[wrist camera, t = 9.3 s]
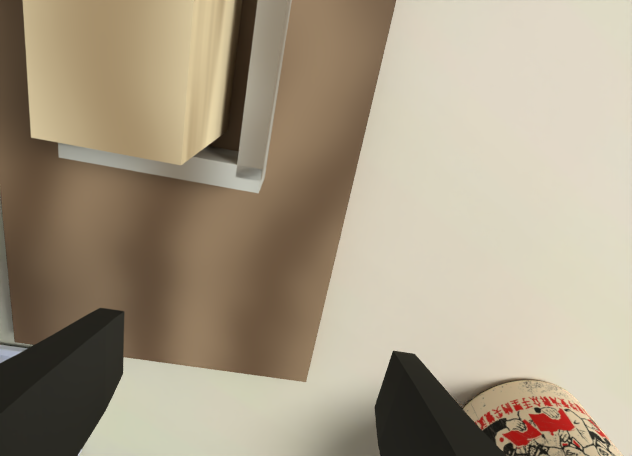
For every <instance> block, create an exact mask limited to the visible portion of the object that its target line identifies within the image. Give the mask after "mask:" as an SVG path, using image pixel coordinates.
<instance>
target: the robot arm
mask: <svg viewBox="0 0 632 456" xmlns="http://www.w3.org/2000/svg"><path fill="white" fill-rule="evenodd" d="M123 351H124V311H120V310H113V309H106V308H99V309H97V310H95V311H93V312H91V313H89V314H88V315H86V316H84V317H82V318H81V319H79V320H77V321H75V322H74V323H72V324H70V325H68V326H67V327H65V328H63V329H62V330H60V331H58V332H56V333H55V334H53V335H51V336H49V337H48V338H46V339H44V340H42V341H40V342H39V343H37V344H35V345H33V346H32V347H30V348H21V347H14V346H6V345H0V456H79V455H80V453H81V451H82V448H83V446H84V445H85V443H86V441H87V440H88V438H89V437H90V435H91V433H92V432H93V430H94V429H95V427H96V425H97V424H98V422H99V420H100V419H101V417H102V416H103V414H104V412H105V411H106V408H107V406H108V404H109V402H110V400H111V398H112V396H113V394H114V392H115V390H116V388H117V385H118V383H119V381H120V379H121V377H122V375H123ZM375 417H376V428H377V437H378V446H379V450H380V455H381V456H507V455H506V454H505V453H504V452H503V451H502V450H501V449H500V448H499V447H498V446H497V445H496V444H495V443H494V442H493V441H492V440H491V439H490V438H489V437H488V436H487V435H486V434H485V433H484V432H483V431H482V430H481V429H480V428H479V426H478V425H477V424H476V423H475V422H474V421H473V420H472V419H471V418H470V417H469V416H468V415H467V413H466V412H465V411H464V410H463V409H462V408H461V407H460V406H459V405H458V403H457V402H456V401H455V400H454V399H453V398H452V397H451V395H450V394H449V393H448V392H447V391H446V390H445V388H444V387H443V386H442V385H441V384H440V383H439V381H438V380H437V379H436V378H435V377H434V376H433V374H432V373H431V372H430V371H429V370H428V369H427V367H426V366H425V365H424V364H423V363H422V362H421V361H420V359H419V358H418V357H417V356H416V355H415V354H412V353H405V352H398V351H393V353H392V356H391V359H390V362H389V365H388V368H387V371H386V374H385V377H384V380H383V383H382V386H381V389H380V392H379V396H378V399H377V402H376V405H375Z"/></svg>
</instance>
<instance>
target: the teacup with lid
mask: <svg viewBox="0 0 632 456" xmlns="http://www.w3.org/2000/svg"><path fill="white" fill-rule="evenodd" d="M463 410H464V411H465V412H466V413H467V415H468V416H469V417H470V418H471V419H472V420H473V421H474V422H475V423H476V424H477V425H478V426H479V428H480V429H481V430H482V431H483V432H484V433H485V434H486V435H487V436H488V437H489V438H490V439H491V440H492V441H493V442H494V443H495V444H496V445H497V446H498V447H499V448H500V449H501V450H502V451H503V452H504V453H505V454H506V455H507V456H623V455H622V454H621V452H620V451H619V450H618V449H617V448H616V446H615V445H614V444H613V443H612V442H611V440H610V439H609V438H608V437H607V436H606V434H605V433H604V432H603V431H602V430H601V428H600V427H599V426H598V425H597V424H596V422H595V421H594V420H593V419H592V417H591V416H590V415H589V414H588V413H587V411H586V410H585V409H584V408H583V407H582V405H581V404H580V403H579V402H578V401H577V400H576V398H575V397H574V396H573V395H571V394H570V393H569V392H568V391H566V390H565V389H563V388H561V387H559V386H557V385H554V384H551V383H547V382H542V381H535V380H522V381H514V382H509V383H505V384H501V385H498V386H496V387H493V388H491V389H489V390H487V391H485V392H483V393H481V394H480V395H478V396H477V397H475V398H474V399H473V400H471V401H470V402H469V403H468V404H467V405H466V406H465V407H464V408H463Z"/></svg>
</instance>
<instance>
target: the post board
mask: <svg viewBox="0 0 632 456" xmlns="http://www.w3.org/2000/svg"><path fill="white" fill-rule="evenodd" d="M395 3H396V0H242V9H241V17H240V26H239V35H238V43H237V52H236V61H235V69H234V78H233V87H232V95H231V104H230V113H229V121H228V130H227V132H225V133H224V134H223V135H221V136H220V137H219V138H217V139H216V140H215V141H213V142H212V143H211V144H209V145H208V146H207V147H205V148H204V149H202V150H201V151H200V152H198V153H197V154H196V155H194V156H193V157H192V158H190V159H189V160H188V161H186V162H185V163H184V164H182V165H176V164H171V163H166V162H160V161H155V160H149V159H144V158H139V157H133V156H128V155H123V154H117V153H112V152H106V151H101V150H96V149H90V148H85V147H79V146H74V145H69V144H63V143H58V142H52V141H47V140H42V139H36V138H31V129H30V112H29V96H28V79H27V63H26V47H25V30H24V14H23V0H0V193H1V204H2V214H3V224H4V235H5V245H6V256H7V266H8V277H9V287H10V297H11V308H12V318H13V329H14V339H15V342H18V343H25V344H32V345H35V344H37V343H39V342H40V341H42V340H44V339H46V338H48V337H49V336H51V335H53V334H55V333H56V332H58V331H60V330H62V329H63V328H65V327H67V326H68V325H70V324H72V323H74V322H75V321H77V320H79V319H81V318H82V317H84V316H86V315H88V314H89V313H91V312H93V311H95V310H97V309H99V308H106V309H113V310H120V311H124V351H123V357H127V358H134V359H142V360H149V361H156V362H164V363H171V364H178V365H186V366H193V367H200V368H207V369H215V370H222V371H229V372H237V373H244V374H251V375H259V376H266V377H273V378H280V379H288V380H295V381H302V382H306V379H307V375H308V371H309V367H310V362H311V358H312V354H313V350H314V345H315V341H316V337H317V333H318V329H319V324H320V320H321V316H322V312H323V307H324V303H325V299H326V295H327V291H328V286H329V282H330V278H331V274H332V269H333V265H334V261H335V257H336V252H337V248H338V244H339V240H340V236H341V231H342V227H343V223H344V219H345V214H346V210H347V206H348V202H349V198H350V193H351V189H352V185H353V181H354V176H355V172H356V168H357V164H358V159H359V155H360V151H361V147H362V143H363V138H364V134H365V130H366V126H367V121H368V117H369V113H370V109H371V105H372V100H373V96H374V92H375V88H376V83H377V79H378V75H379V71H380V66H381V62H382V58H383V54H384V50H385V45H386V41H387V37H388V33H389V28H390V24H391V20H392V16H393V12H394V7H395Z"/></svg>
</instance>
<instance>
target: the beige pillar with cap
mask: <svg viewBox="0 0 632 456" xmlns="http://www.w3.org/2000/svg"><path fill="white" fill-rule="evenodd" d="M241 9H242V0H23V14H24V30H25V47H26V63H27V79H28V96H29V112H30V129H31V138H36V139H42V140H47V141H52V142H58V143H63V144H69V145H74V146H79V147H85V148H90V149H96V150H101V151H106V152H112V153H117V154H123V155H128V156H133V157H139V158H144V159H149V160H155V161H160V162H166V163H171V164H176V165H182V164H184V163H185V162H186V161H188V160H189V159H190V158H192V157H193V156H194V155H196V154H197V153H198V152H200V151H201V150H202V149H204V148H205V147H207V146H208V145H209V144H211V143H212V142H213V141H215V140H216V139H217V138H219V137H220V136H221V135H223V134H224V133H225V132H227V130H228V121H229V113H230V104H231V95H232V87H233V78H234V69H235V61H236V52H237V43H238V35H239V26H240V17H241Z"/></svg>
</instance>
